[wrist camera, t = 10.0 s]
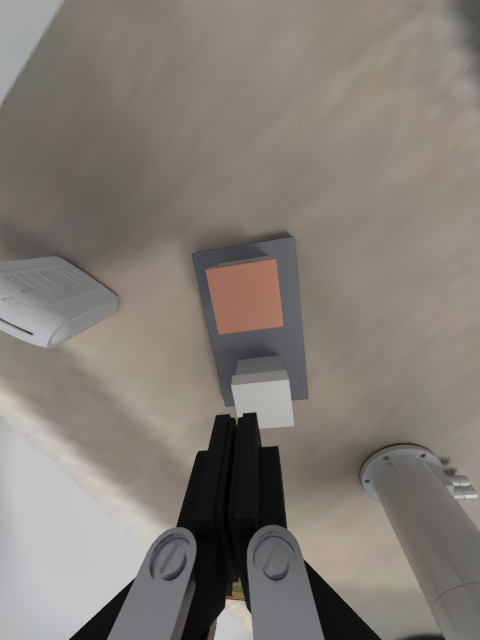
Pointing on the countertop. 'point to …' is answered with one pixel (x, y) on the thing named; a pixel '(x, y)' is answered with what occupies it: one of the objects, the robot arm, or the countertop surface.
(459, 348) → the countertop surface
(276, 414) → the white plunger
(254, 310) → the salmon pink block
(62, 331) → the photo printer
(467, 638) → the robot arm
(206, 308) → the block
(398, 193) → the countertop surface
